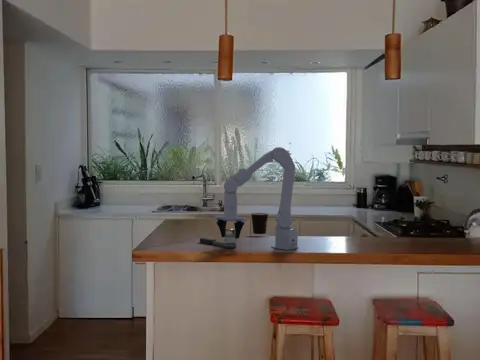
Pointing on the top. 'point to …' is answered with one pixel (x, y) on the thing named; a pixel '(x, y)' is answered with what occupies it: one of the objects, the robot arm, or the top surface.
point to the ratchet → (218, 243)
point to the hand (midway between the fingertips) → (230, 237)
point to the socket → (230, 236)
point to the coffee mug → (259, 222)
